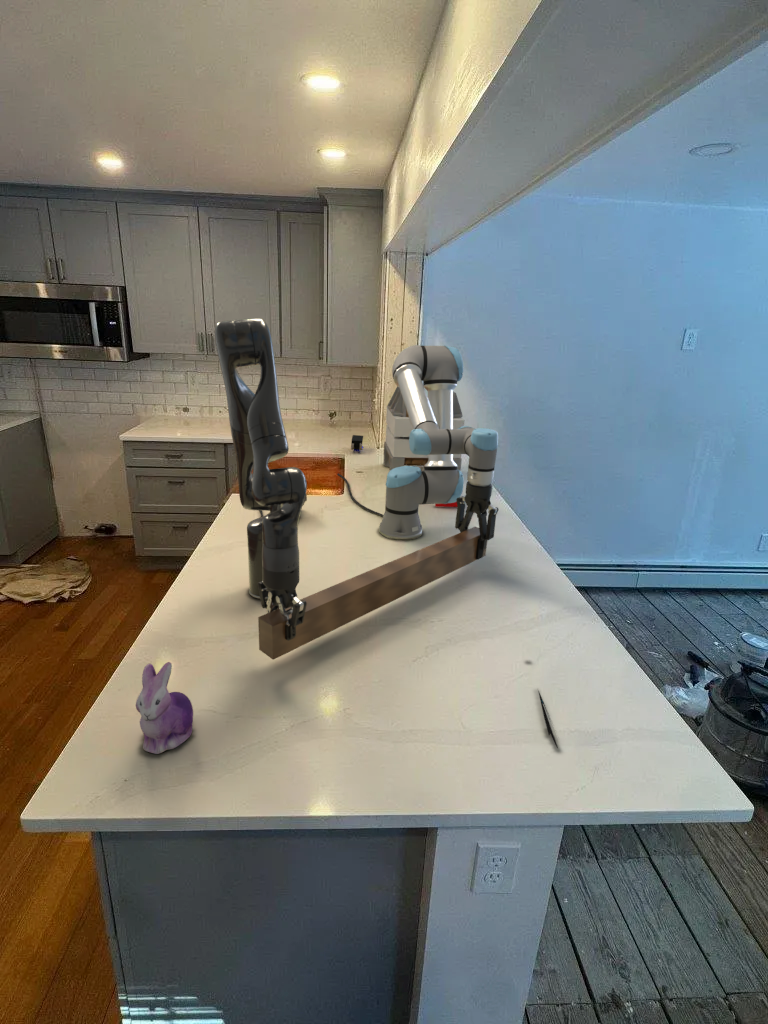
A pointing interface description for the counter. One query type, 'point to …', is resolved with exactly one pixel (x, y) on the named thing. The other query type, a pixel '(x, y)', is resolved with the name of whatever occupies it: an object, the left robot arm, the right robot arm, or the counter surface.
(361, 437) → the figurine character
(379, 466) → the counter surface
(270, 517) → the left robot arm
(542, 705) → the feather
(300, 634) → the bar
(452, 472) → the right robot arm
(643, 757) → the counter surface
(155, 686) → the figurine
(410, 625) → the counter surface
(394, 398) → the white slatted box
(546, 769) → the counter surface
